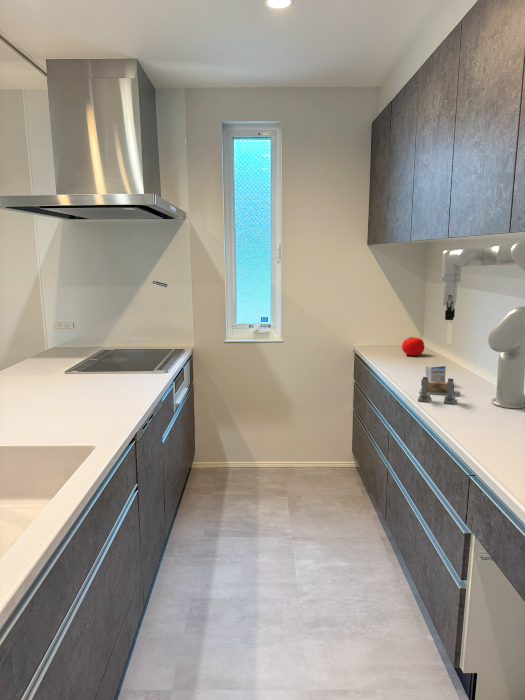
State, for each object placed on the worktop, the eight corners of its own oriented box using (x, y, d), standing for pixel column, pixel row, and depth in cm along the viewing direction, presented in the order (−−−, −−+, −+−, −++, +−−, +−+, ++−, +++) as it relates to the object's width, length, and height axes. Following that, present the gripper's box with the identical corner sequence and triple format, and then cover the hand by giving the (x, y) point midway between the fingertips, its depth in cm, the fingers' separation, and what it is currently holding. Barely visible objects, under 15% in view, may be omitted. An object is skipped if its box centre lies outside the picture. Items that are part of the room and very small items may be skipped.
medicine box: (430, 385, 223) (431, 367, 221) (425, 383, 227) (425, 365, 226) (445, 384, 225) (446, 366, 223) (439, 382, 229) (440, 364, 228)
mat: (459, 391, 211) (459, 390, 211) (458, 396, 204) (458, 395, 203) (421, 388, 217) (421, 387, 217) (419, 393, 210) (419, 392, 210)
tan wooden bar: (454, 391, 209) (454, 382, 208) (453, 393, 206) (454, 384, 206) (425, 389, 214) (425, 380, 213) (424, 391, 211) (424, 382, 211)
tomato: (426, 356, 290) (427, 338, 288) (403, 357, 291) (404, 338, 289) (421, 353, 302) (421, 335, 300) (399, 353, 303) (399, 335, 301)
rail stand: (455, 399, 199) (456, 378, 198) (454, 404, 192) (455, 382, 191) (420, 396, 205) (420, 376, 204) (418, 401, 198) (418, 380, 196)
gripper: (443, 278, 214) (442, 316, 216) (440, 279, 198) (439, 320, 201) (461, 278, 210) (459, 316, 213) (459, 279, 195) (458, 321, 198)
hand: (449, 318), depth 207 cm, fingers open, 9 cm apart
